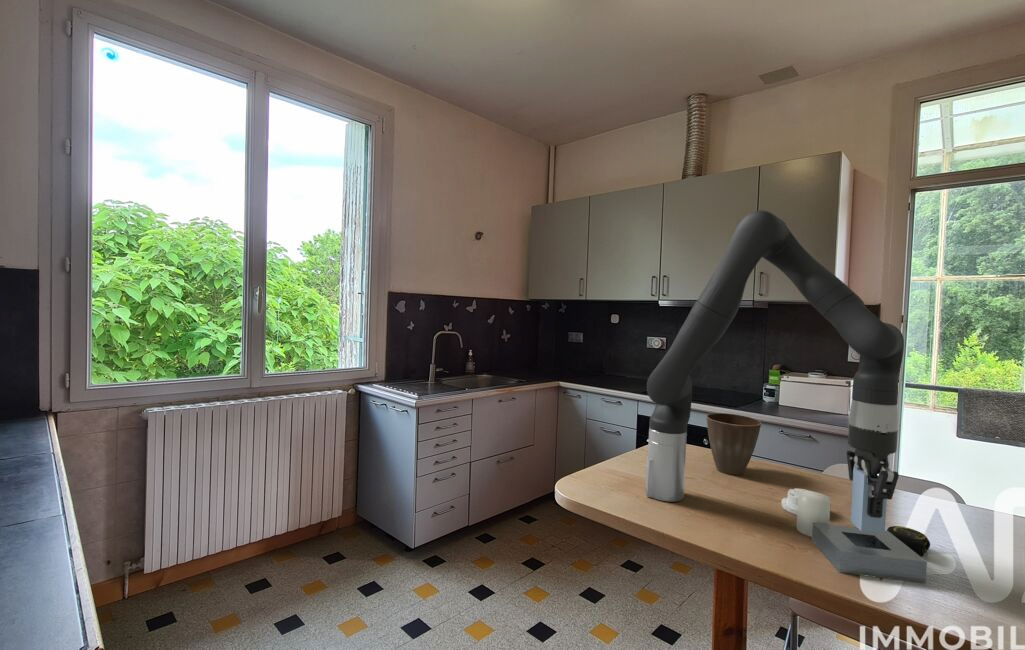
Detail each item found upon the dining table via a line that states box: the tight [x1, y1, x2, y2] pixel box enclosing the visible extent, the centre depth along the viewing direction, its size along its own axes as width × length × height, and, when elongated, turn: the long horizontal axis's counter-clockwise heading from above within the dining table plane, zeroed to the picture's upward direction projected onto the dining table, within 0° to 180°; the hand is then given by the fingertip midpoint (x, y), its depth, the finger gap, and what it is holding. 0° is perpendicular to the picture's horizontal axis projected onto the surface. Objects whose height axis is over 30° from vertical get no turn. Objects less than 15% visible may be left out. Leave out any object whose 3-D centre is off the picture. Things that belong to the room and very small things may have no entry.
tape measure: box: [886, 525, 931, 558], centre depth 97 cm, size 7×7×4 cm
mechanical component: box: [780, 487, 809, 516], centre depth 115 cm, size 10×4×10 cm
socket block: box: [811, 523, 928, 584], centre depth 92 cm, size 14×12×4 cm
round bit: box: [795, 490, 832, 538], centre depth 104 cm, size 6×6×8 cm
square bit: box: [850, 468, 888, 534], centre depth 92 cm, size 4×4×11 cm
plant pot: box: [706, 412, 762, 476], centre depth 141 cm, size 15×15×16 cm
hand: (868, 511), depth 92 cm, fingers closed on square bit, 4 cm apart
